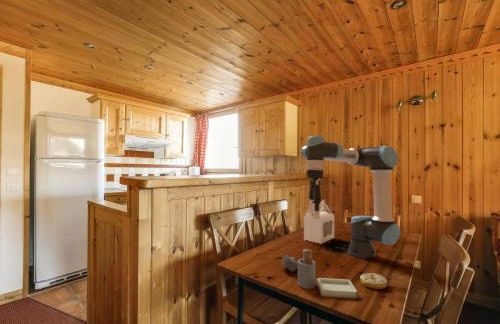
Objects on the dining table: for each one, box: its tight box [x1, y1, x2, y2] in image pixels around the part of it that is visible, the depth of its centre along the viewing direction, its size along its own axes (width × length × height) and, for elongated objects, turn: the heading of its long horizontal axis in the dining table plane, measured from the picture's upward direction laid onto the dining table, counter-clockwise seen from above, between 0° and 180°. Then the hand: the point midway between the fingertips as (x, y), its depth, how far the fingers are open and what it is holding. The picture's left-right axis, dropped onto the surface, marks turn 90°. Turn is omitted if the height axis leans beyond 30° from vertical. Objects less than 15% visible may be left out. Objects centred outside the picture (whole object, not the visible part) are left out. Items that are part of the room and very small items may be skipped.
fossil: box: [281, 254, 298, 272], centre depth 123 cm, size 11×9×8 cm
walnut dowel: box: [302, 248, 313, 264], centre depth 109 cm, size 5×4×14 cm
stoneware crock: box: [296, 258, 316, 289], centre depth 109 cm, size 8×8×10 cm
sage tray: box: [316, 277, 359, 299], centre depth 103 cm, size 14×11×2 cm
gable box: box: [303, 199, 335, 245], centre depth 180 cm, size 22×13×28 cm, turn 137°
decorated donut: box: [359, 272, 388, 290], centre depth 109 cm, size 10×11×4 cm
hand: (313, 215), depth 112 cm, fingers open, 13 cm apart
